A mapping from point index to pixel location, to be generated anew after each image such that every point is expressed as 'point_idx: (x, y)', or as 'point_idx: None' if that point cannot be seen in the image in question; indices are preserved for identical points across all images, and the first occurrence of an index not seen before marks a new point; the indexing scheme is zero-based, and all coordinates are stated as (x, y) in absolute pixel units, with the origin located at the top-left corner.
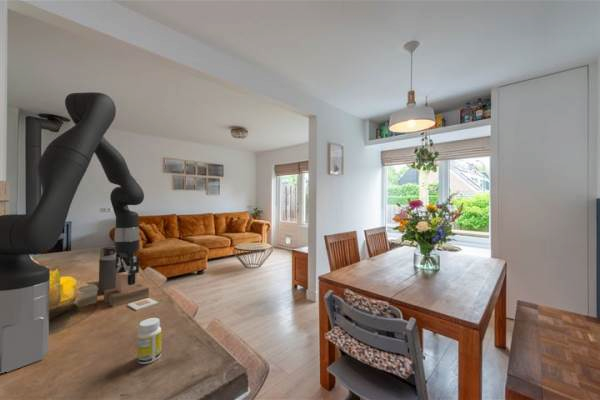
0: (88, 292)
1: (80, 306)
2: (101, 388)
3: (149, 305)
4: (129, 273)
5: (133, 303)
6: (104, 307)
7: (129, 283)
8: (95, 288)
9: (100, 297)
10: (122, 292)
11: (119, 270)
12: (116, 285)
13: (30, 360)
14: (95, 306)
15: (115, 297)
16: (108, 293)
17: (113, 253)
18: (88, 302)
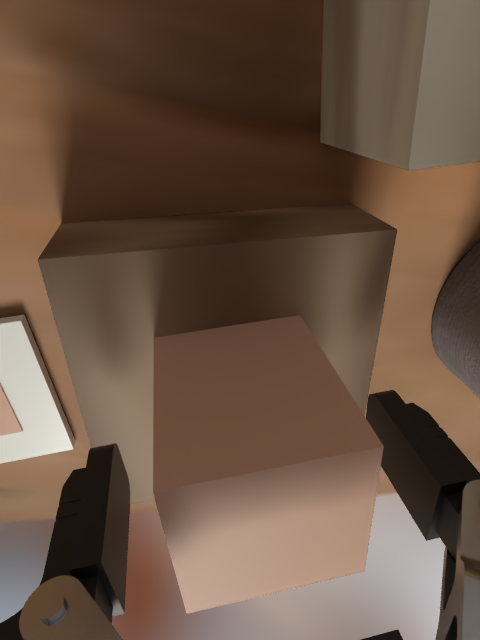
0: (387, 51)
1: None
2: None
3: None
4: (22, 619)
5: (6, 357)
6: (122, 164)
7: (90, 465)
8: (398, 144)
9: (438, 194)
10: (149, 348)
11: (459, 500)
12: (292, 346)
13: None
14: (221, 106)
15: (43, 273)
16: (232, 243)
17: None
18: (332, 61)
